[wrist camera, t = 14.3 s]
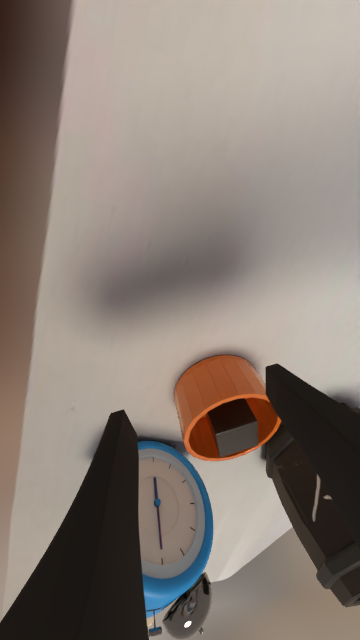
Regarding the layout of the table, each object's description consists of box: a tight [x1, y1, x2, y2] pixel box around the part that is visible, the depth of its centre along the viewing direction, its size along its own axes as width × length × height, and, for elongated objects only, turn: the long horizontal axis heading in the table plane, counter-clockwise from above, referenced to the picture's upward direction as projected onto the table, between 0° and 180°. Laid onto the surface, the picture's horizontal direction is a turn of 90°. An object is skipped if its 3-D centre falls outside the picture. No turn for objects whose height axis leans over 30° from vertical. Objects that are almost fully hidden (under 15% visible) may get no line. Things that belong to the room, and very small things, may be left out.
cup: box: [174, 355, 281, 461], centre depth 24 cm, size 10×10×6 cm
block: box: [206, 398, 258, 457], centre depth 23 cm, size 4×4×6 cm
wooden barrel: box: [265, 403, 360, 607], centre depth 29 cm, size 18×18×16 cm
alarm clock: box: [138, 441, 213, 640], centre depth 23 cm, size 13×6×15 cm, turn 62°
